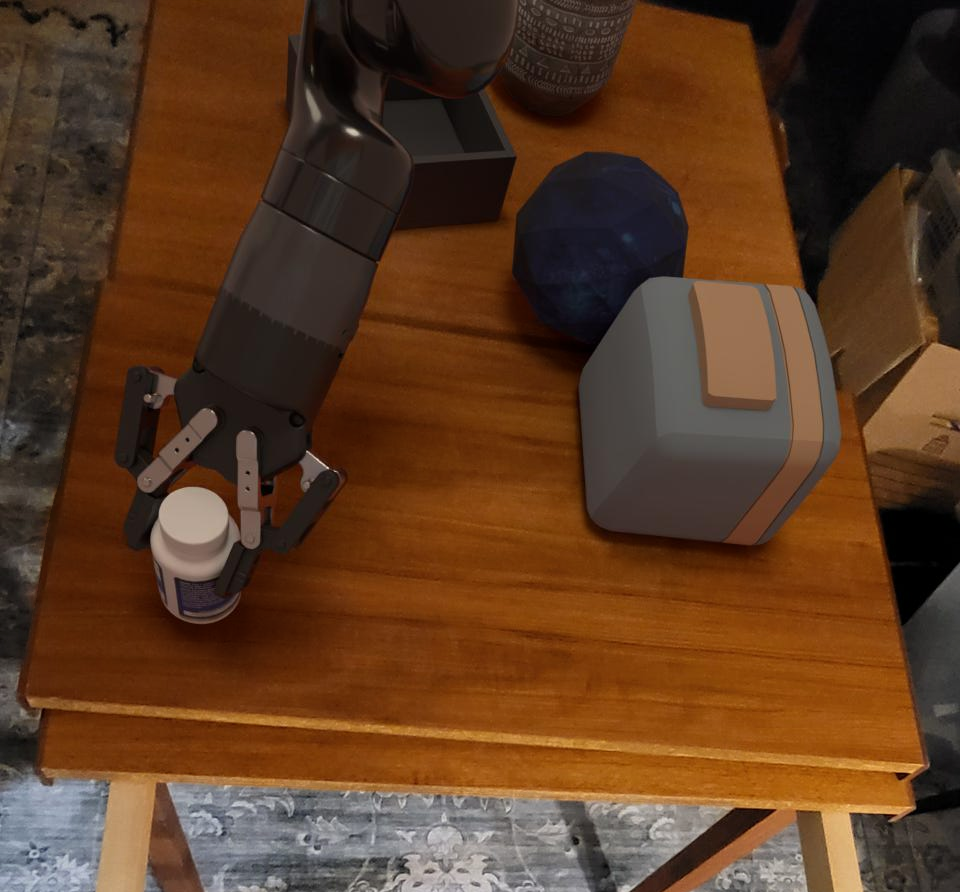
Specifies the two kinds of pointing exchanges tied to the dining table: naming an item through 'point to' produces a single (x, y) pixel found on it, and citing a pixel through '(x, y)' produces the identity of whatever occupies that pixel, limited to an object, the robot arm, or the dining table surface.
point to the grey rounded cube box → (708, 411)
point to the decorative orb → (596, 240)
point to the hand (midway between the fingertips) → (181, 569)
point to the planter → (564, 51)
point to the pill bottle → (193, 554)
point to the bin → (442, 152)
